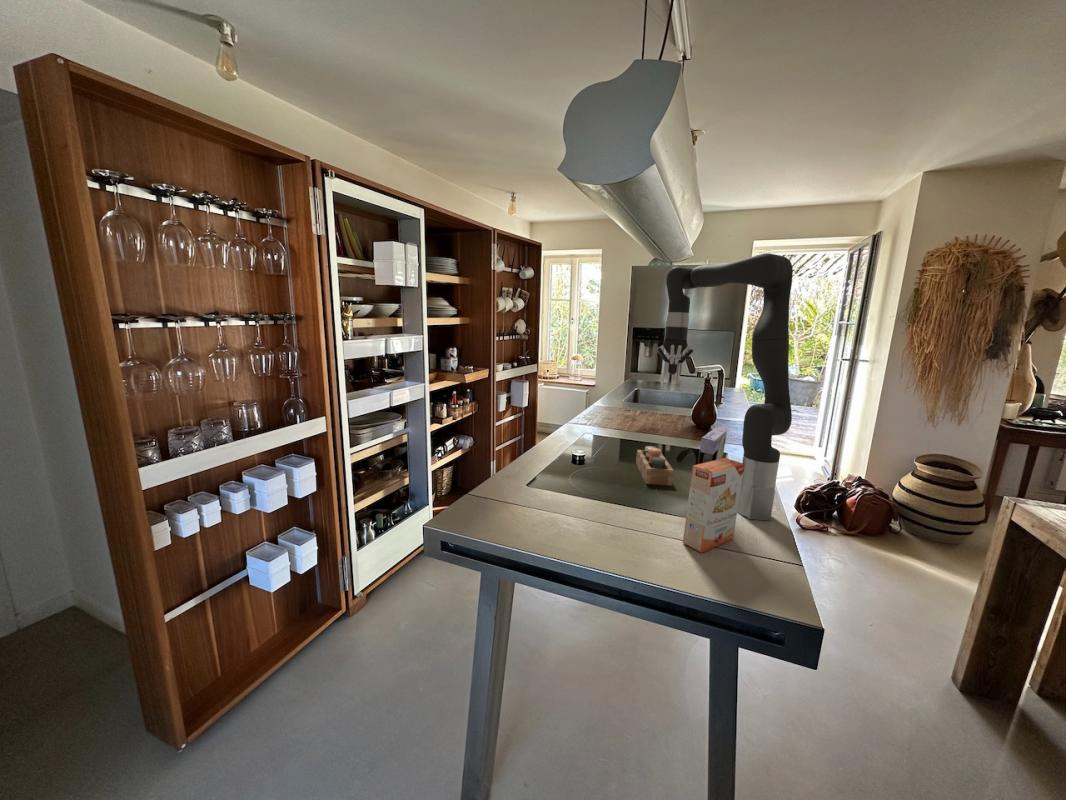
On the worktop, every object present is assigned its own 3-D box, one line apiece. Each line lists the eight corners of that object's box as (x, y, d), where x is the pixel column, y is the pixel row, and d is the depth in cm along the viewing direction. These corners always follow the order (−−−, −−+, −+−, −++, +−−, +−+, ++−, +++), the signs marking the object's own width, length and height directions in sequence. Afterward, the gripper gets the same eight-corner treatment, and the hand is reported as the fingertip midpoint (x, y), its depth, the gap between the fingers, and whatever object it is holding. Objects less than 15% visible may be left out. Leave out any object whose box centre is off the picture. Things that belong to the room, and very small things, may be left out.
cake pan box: (707, 490, 142) (714, 439, 138) (692, 486, 144) (698, 436, 141) (721, 475, 157) (727, 429, 154) (707, 472, 160) (713, 427, 156)
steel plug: (656, 468, 159) (658, 450, 158) (644, 467, 160) (646, 449, 158) (654, 464, 164) (656, 446, 163) (642, 463, 164) (644, 445, 163)
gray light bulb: (664, 482, 146) (666, 461, 144) (651, 481, 146) (653, 460, 145) (661, 477, 150) (663, 457, 149) (648, 476, 151) (650, 456, 149)
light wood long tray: (672, 485, 144) (673, 470, 143) (645, 483, 145) (646, 468, 144) (659, 464, 166) (660, 451, 165) (636, 463, 166) (637, 449, 165)
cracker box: (702, 555, 100) (713, 472, 97) (681, 543, 105) (690, 464, 101) (735, 540, 108) (746, 463, 104) (714, 530, 113) (723, 456, 109)
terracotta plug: (660, 471, 152) (662, 451, 151) (648, 470, 153) (649, 451, 151) (658, 467, 157) (660, 448, 156) (645, 466, 157) (647, 447, 156)
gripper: (660, 325, 145) (655, 374, 148) (699, 326, 144) (693, 376, 147) (655, 325, 152) (651, 372, 155) (693, 326, 151) (687, 374, 154)
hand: (672, 374), depth 151 cm, fingers closed
